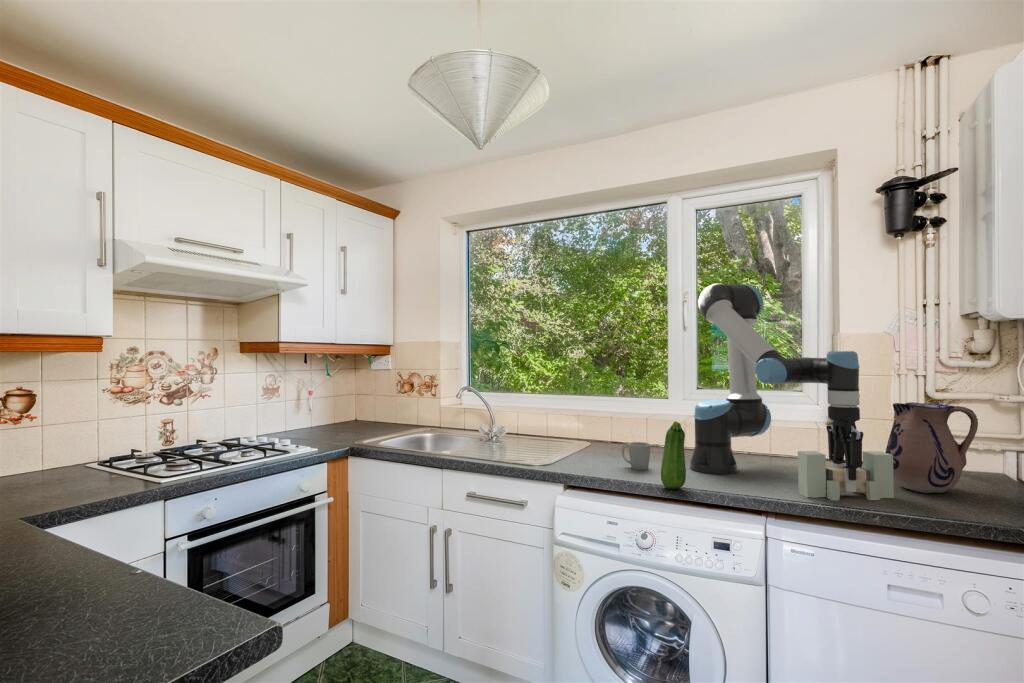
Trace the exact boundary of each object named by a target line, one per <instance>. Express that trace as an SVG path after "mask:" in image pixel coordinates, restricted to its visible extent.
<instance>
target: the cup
mask: <svg viewBox="0 0 1024 683" xmlns="http://www.w3.org/2000/svg"><path fill="white" fill-rule="evenodd" d="M651 446H652V444H651V443H649V442H645V441H644V442H643V441H632V442H629V443H628V444H626V445H624V446H623V447H622V450H621V454H622V458H623V459H624V461H625V462H626V463H628V464H629V465H630V466H631V469H632V468H633V470H635V469H637V470H636V471H646V469H647V470H648V469H649V465H650V457H651V450H652V449H651ZM625 448H627V449H628V452H629V453H628V454H629V459H628V458H626V456H625V453H624V452H625Z"/></svg>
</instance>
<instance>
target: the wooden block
mask: <svg viewBox="0 0 1024 683" xmlns="http://www.w3.org/2000/svg"><path fill="white" fill-rule="evenodd" d="M827 481H838V482H839V486H840V493H847V492H846V491H845V482H844V467H834V466H830V467H829V466H826V492H827ZM866 481H870V470H867V469H864V468H863V467H861V468H857V469H856V492H862V493H863V492H866Z"/></svg>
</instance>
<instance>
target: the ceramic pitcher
mask: <svg viewBox="0 0 1024 683" xmlns="http://www.w3.org/2000/svg"><path fill="white" fill-rule="evenodd" d="M892 407H893V411H894V414H893V415H894V417H893V423H892V427H891V431H890V434H889V437H888V440H887V445H886V448H885V452H884V453H888V454H891V455H893V481H894V482H895V483H896V484H898V485H899V487H900V486H901V487H902V488H905V489H907V490H909V489H910V491H913V490H914V492H919V493H925V494H926V493H927V494H931V493H936V494H937V493H940V494H941V493H943V494H944V493H946V492H947V491H949V490H950V489H953V487H955V486H956V485H957V484H958V482H959V481H960V479H961V477H962V472H963V470H964V469H965V467H966V465H967V464H968V463H967V455H966V454H967V451H968V450H969V448H970V446H971V444H972V442H973V441H974V439H975V436H976V434H977V432H978V427H979V421H978V420H979V419H978V417H977V415H976V413H975V412H974V411H973V410H972V409H970V408H968V407H966V406H959V405H956V406H954V405H949V404H943V403H941V404H940V403H927V402H926V403H923V402H914V401H912V402H911V401H910V402H905V403H900V402H898V403H897V402H895V403H892ZM955 412H957V413H958V412H961V413H962V414H965V415H966V416H967V417H968V418H969V420H970V426H969V431H968V432H967V435H966V436H965V438H964V440H963V441H961V443H958V442H957V441H956V440H955V438H954V436H953V433H952V430H950V427H949V424H948V421H949V417H950V416H951V415H952V414H953V413H955Z"/></svg>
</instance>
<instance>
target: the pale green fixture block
mask: <svg viewBox="0 0 1024 683" xmlns="http://www.w3.org/2000/svg"><path fill="white" fill-rule="evenodd" d="M862 468H864V469H867V470H870V481H866V492H862V493H861V492H860V493H859V492H858V493H857V494H863V493H865V494H867V495H866V500H867V499H869V500H868V501H870V500H881V499H880V498H894V496H895V495H894V491H895V490H894V488H895V487H894V480H893V455H891V454H888V453H885V452H884V451H875V450H873V451H872V450H871V451H869V450H868V451H867V450H866V451H865V450H862ZM865 494H864V495H865ZM894 499H895V498H894Z"/></svg>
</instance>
